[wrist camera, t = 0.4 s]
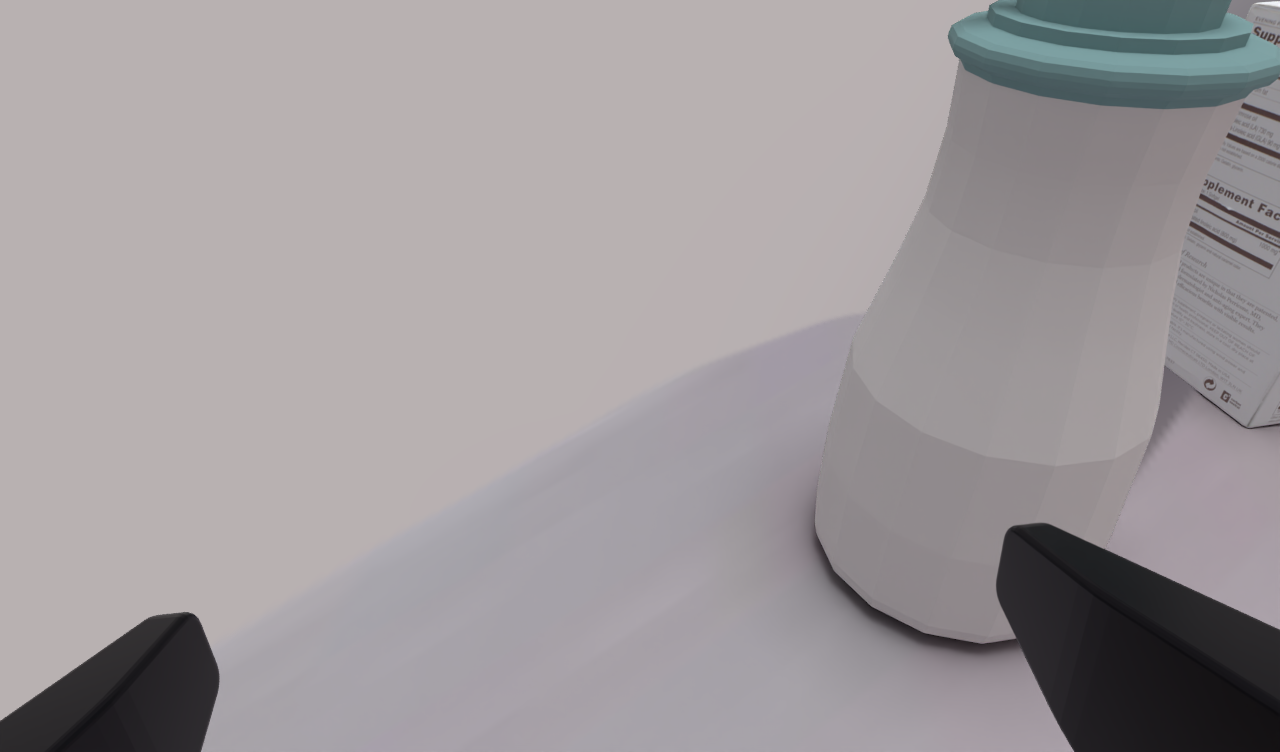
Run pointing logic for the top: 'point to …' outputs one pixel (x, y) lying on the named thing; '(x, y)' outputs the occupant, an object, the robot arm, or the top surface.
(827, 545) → the soap bottle
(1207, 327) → the supplement box
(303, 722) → the top surface
